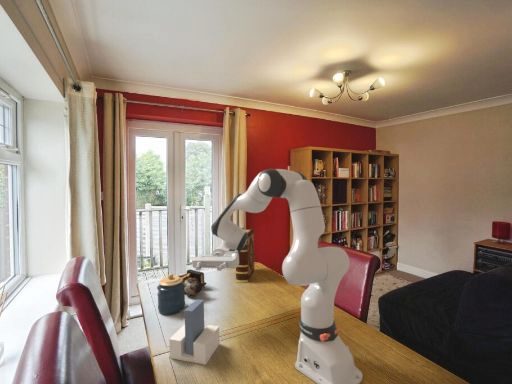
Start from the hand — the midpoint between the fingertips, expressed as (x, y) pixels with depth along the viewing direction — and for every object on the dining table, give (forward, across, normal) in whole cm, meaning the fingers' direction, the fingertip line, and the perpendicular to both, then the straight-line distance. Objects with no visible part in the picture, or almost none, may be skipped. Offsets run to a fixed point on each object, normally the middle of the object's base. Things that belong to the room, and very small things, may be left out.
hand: (207, 268), depth 109 cm
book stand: (+12, -2, +27) cm, 30 cm away
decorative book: (-64, -7, +31) cm, 72 cm away
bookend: (-34, -28, +28) cm, 53 cm away
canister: (-14, -29, +27) cm, 42 cm away
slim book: (+12, -2, +25) cm, 28 cm away
